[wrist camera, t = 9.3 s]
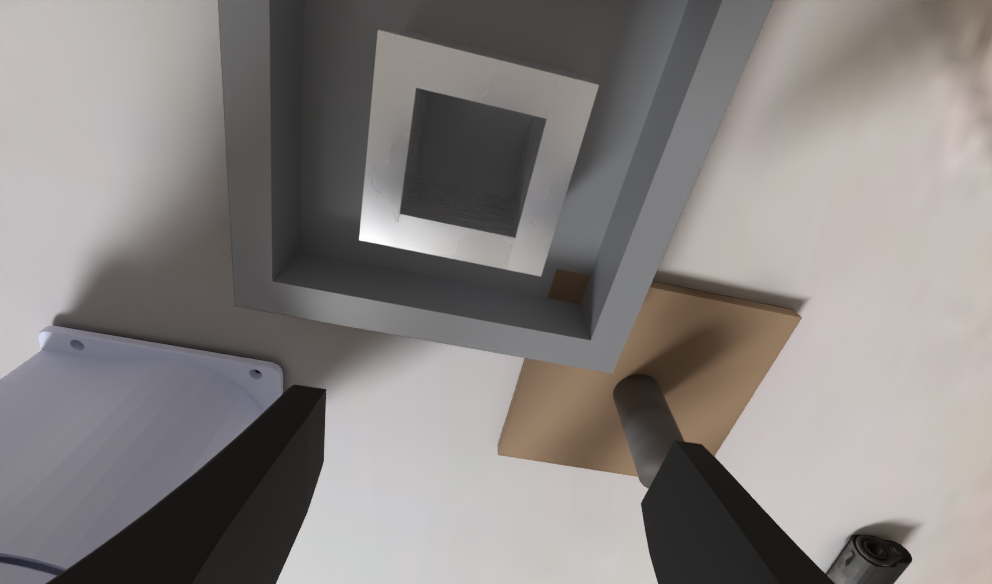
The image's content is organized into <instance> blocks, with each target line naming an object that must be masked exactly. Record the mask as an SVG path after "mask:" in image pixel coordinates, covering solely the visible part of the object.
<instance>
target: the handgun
mask: <svg viewBox="0 0 992 584" xmlns="http://www.w3.org/2000/svg"><path fill="white" fill-rule="evenodd" d="M911 562H912V557H911V554H910V553H909V552H908V551H907V550H906V549H905V548H904V547H903V546H902V545H901V544H898V543H896V542H894V541H891V540H880V539H877V538H876V537H874V536H868V535H861V536H860V535H854V536H853V537H852V539H851V540H850V542H849V543H848V544H847V546H846V547H845V549H844V550H843V552H842V553H841V555H840V556H839V558H838V559H837V560H836V562H835V563H834V565H833V566H832V568H831V569H830V571H829V572H828V573H827V576H828V577H829V578H830V579H831V580H832V581H833V582H834V583H835V584H894V582H895V581H896V580H897V579H898V578H899V576H900V575H901V574H902V573H903V572H904V570H905V569H906V568H907V567H908V565H909V564H910V563H911Z"/></svg>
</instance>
